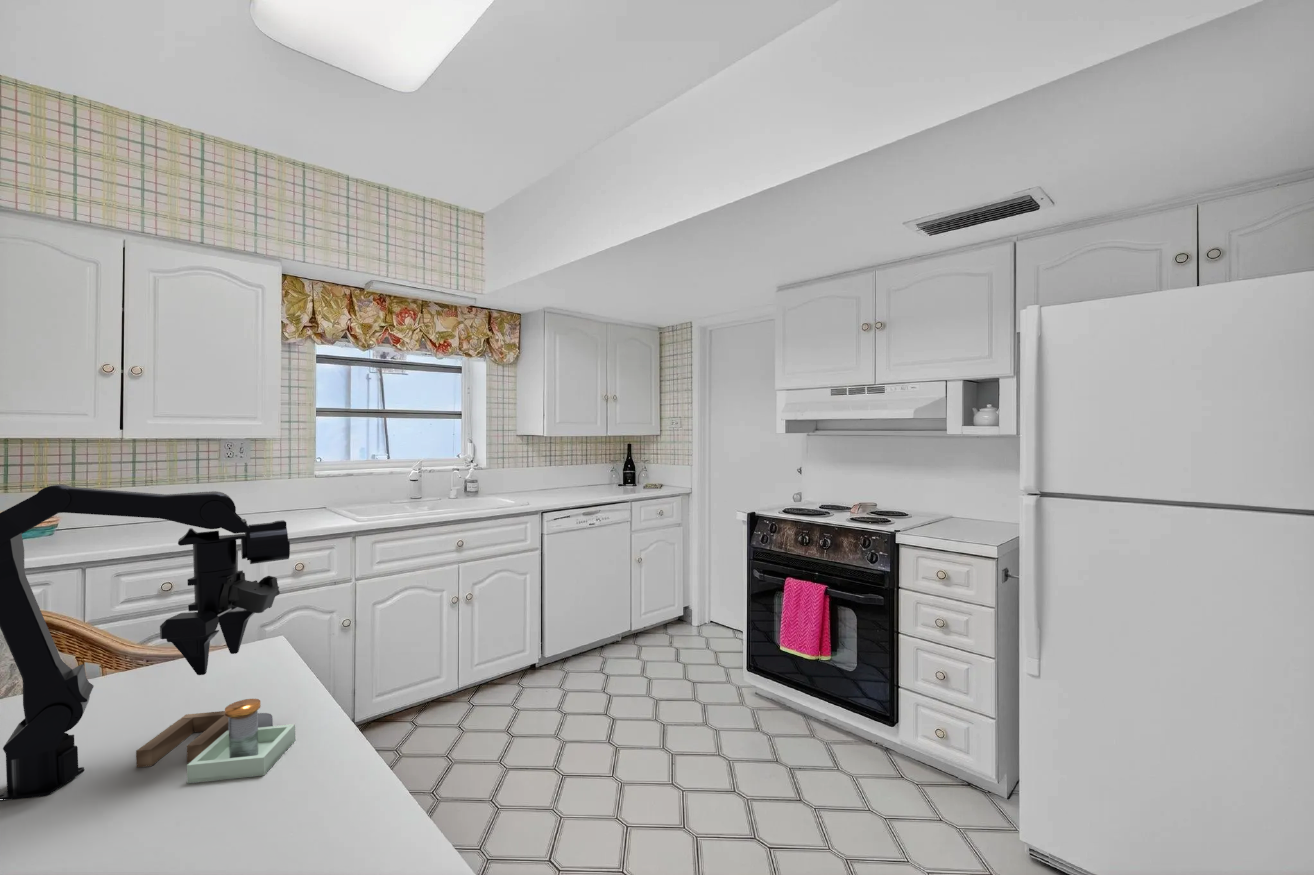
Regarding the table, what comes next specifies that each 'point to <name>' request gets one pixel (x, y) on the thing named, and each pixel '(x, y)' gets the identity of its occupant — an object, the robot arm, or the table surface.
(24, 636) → the robot arm
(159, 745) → the brown u-shaped piece
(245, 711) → the pin
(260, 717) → the pulley
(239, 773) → the tray
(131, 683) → the table surface
